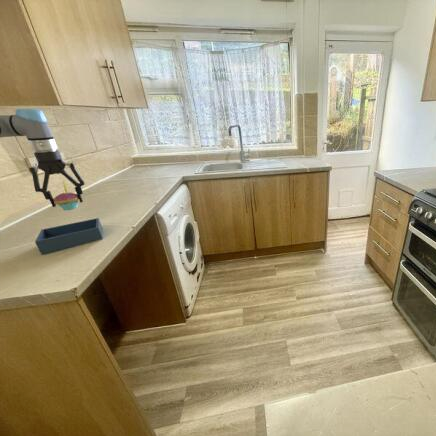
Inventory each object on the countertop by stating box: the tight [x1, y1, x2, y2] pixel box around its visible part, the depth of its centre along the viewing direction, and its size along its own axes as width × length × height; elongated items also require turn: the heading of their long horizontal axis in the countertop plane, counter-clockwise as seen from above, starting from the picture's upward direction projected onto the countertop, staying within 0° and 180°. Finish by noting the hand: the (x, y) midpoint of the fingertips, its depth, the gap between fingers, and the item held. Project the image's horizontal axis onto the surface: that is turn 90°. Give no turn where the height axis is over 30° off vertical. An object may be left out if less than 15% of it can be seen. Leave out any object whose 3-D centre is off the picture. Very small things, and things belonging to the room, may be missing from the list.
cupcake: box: [53, 182, 79, 211], centre depth 105 cm, size 9×8×12 cm
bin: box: [34, 217, 104, 255], centre depth 98 cm, size 19×13×6 cm
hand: (68, 203), depth 107 cm, fingers closed on cupcake, 8 cm apart
